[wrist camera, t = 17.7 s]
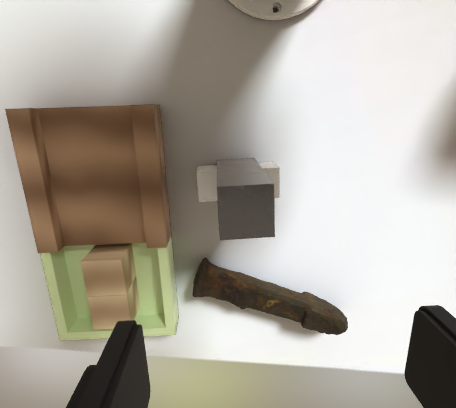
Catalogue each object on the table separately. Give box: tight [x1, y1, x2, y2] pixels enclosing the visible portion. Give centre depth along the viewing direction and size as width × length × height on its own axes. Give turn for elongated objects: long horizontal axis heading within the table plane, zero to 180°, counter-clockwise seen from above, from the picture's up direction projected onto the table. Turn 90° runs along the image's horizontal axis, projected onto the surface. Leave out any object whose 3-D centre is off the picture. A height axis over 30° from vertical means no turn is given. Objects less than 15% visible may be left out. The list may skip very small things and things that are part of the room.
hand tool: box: [193, 258, 348, 335], centre depth 36 cm, size 19×4×5 cm, turn 68°
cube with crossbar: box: [196, 158, 279, 240], centre depth 28 cm, size 4×8×12 cm, turn 93°
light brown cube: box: [81, 243, 136, 297], centre depth 33 cm, size 4×4×4 cm
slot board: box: [5, 104, 171, 253], centre depth 31 cm, size 14×13×4 cm
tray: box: [40, 237, 179, 341], centre depth 35 cm, size 11×13×3 cm
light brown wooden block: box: [87, 276, 140, 330], centre depth 35 cm, size 4×4×4 cm
